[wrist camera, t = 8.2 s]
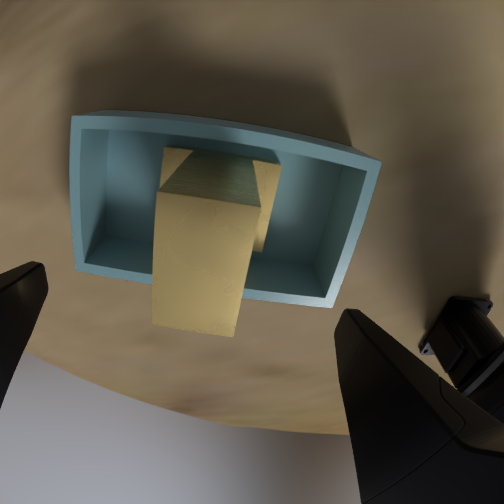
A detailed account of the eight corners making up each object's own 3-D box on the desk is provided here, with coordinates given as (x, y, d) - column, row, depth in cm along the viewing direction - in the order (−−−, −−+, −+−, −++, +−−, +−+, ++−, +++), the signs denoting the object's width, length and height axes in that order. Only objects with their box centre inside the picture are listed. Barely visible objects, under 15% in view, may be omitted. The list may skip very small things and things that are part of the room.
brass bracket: (279, 161, 16) (311, 217, 9) (260, 244, 18) (272, 341, 11) (168, 144, 15) (109, 185, 8) (160, 228, 17) (114, 317, 10)
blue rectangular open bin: (353, 147, 16) (382, 161, 13) (317, 270, 20) (331, 308, 16) (105, 109, 14) (71, 115, 11) (102, 238, 18) (76, 270, 15)
